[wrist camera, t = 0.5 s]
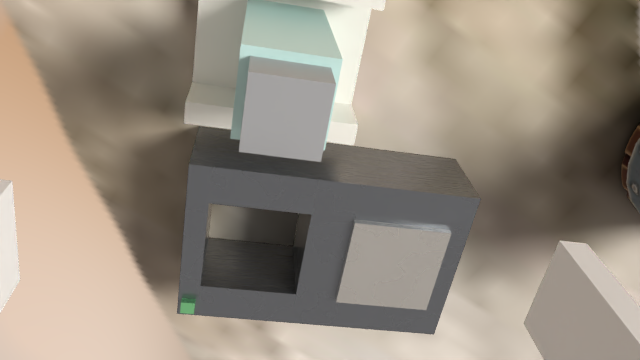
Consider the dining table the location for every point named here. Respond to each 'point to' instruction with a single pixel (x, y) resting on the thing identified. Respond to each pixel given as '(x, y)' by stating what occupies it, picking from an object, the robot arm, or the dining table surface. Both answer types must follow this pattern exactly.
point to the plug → (285, 81)
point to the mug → (632, 169)
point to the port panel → (327, 236)
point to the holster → (224, 50)
